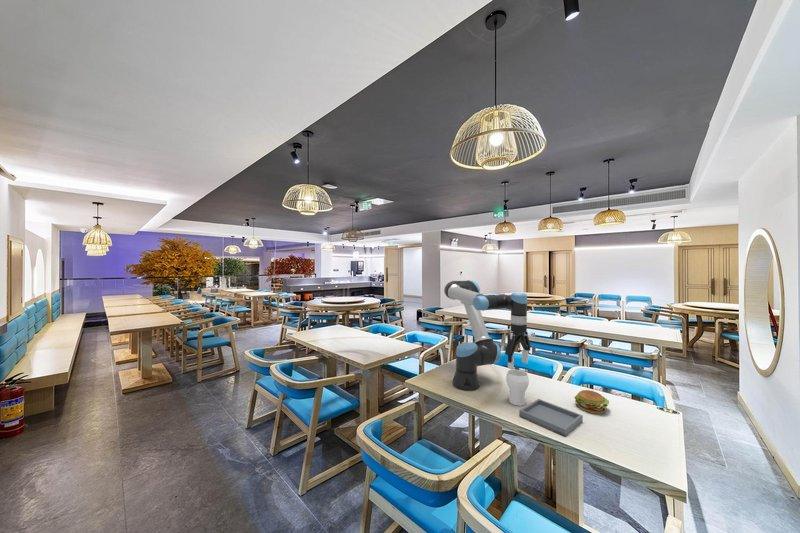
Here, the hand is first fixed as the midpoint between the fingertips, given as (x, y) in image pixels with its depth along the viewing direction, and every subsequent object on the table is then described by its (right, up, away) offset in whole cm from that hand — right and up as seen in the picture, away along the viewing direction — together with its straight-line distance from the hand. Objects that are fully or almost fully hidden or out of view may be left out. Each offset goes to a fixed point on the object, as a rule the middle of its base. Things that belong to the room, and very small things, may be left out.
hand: (518, 365), depth 151 cm
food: (+34, -20, -5) cm, 40 cm away
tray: (+9, -19, -15) cm, 26 cm away
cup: (0, -19, +1) cm, 19 cm away
